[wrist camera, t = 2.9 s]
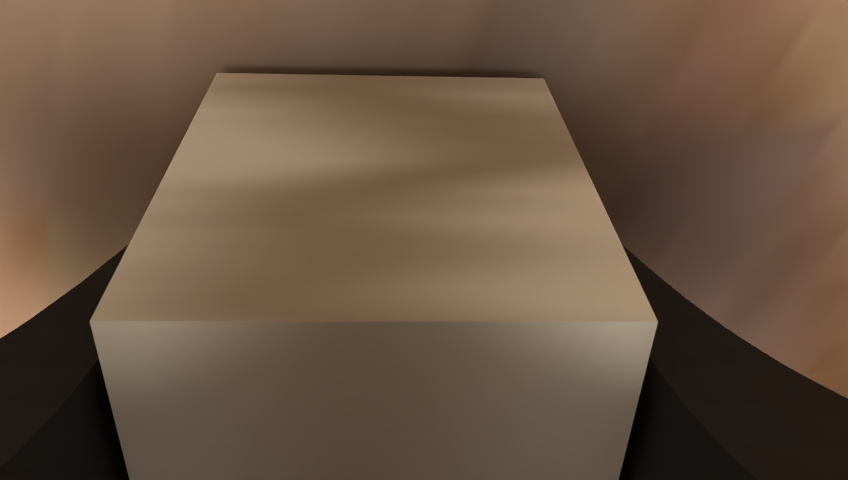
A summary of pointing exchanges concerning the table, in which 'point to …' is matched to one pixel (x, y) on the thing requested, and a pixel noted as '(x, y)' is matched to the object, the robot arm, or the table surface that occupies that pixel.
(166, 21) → the table surface
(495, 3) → the table surface
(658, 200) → the table surface
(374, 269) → the maple block
